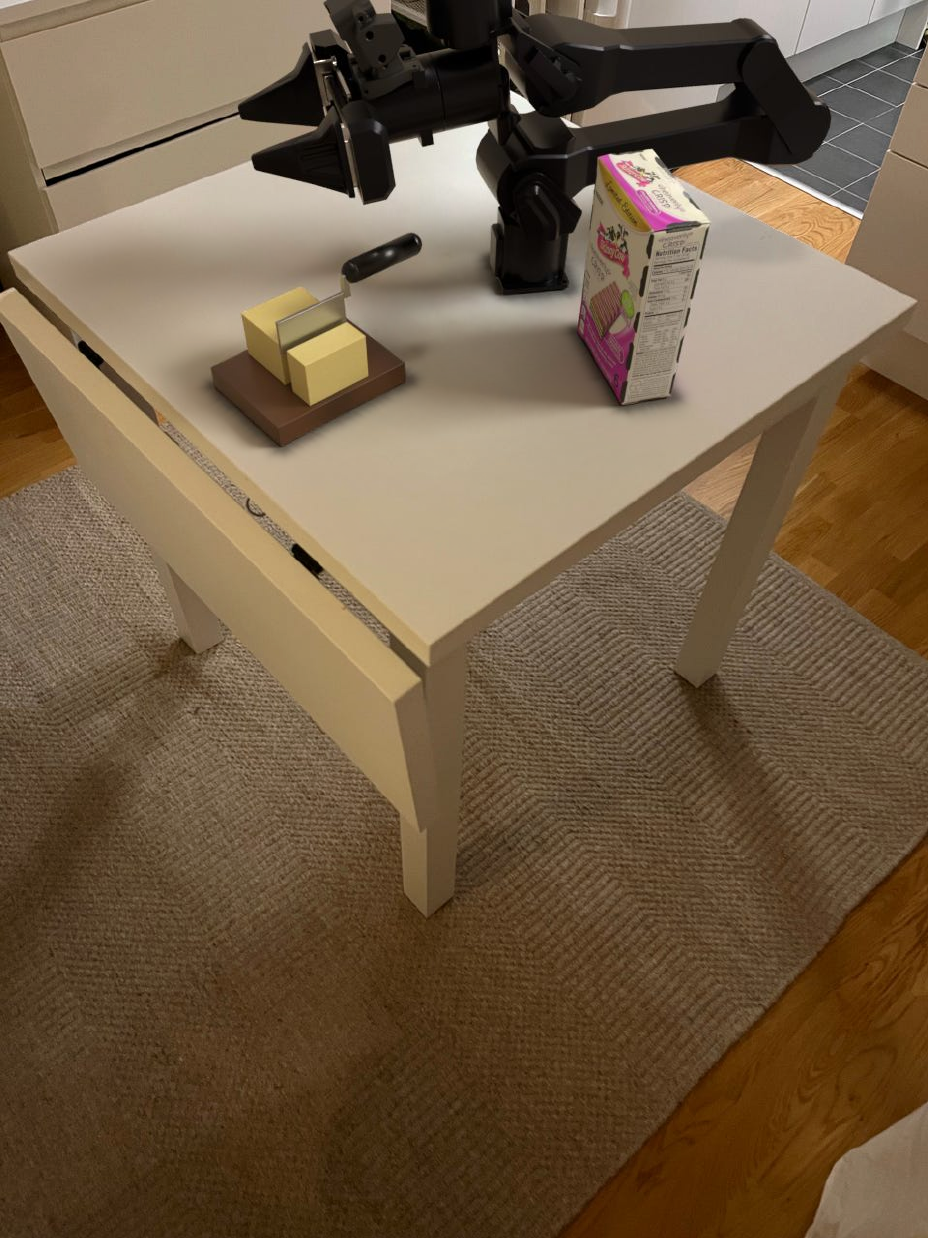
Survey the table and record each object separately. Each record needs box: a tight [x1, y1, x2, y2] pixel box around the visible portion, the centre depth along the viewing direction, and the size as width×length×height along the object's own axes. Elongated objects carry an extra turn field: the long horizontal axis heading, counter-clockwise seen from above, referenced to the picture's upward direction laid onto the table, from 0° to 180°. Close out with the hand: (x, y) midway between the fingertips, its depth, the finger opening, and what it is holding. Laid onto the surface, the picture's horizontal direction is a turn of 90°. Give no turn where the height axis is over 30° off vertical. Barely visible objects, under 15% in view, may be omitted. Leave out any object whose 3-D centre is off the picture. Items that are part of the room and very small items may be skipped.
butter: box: [240, 286, 368, 406], centre depth 80 cm, size 6×9×4 cm, turn 41°
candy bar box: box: [576, 149, 712, 406], centre depth 79 cm, size 11×5×16 cm, turn 17°
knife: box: [275, 232, 423, 356], centre depth 77 cm, size 14×2×5 cm, turn 131°
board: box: [209, 317, 407, 448], centre depth 82 cm, size 13×10×2 cm
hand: (245, 136), depth 76 cm, fingers open, 9 cm apart
